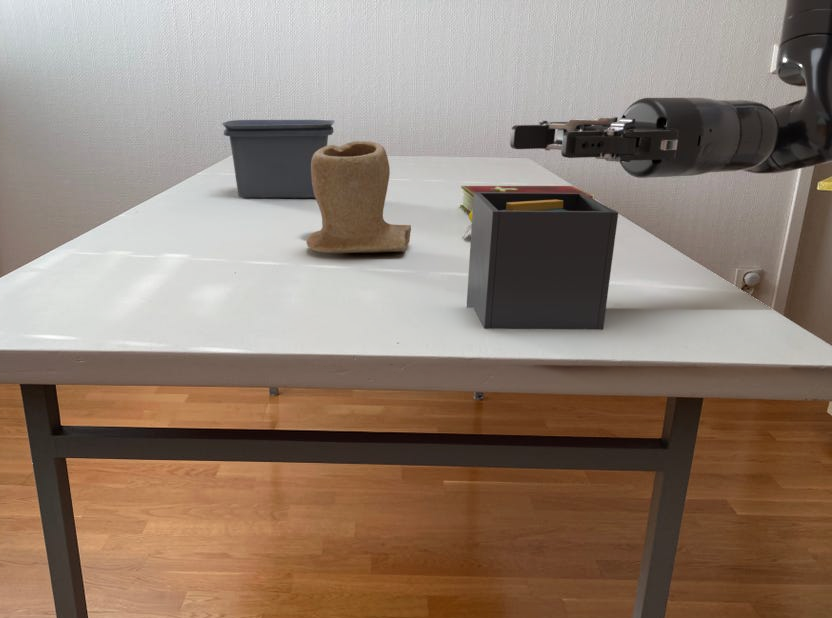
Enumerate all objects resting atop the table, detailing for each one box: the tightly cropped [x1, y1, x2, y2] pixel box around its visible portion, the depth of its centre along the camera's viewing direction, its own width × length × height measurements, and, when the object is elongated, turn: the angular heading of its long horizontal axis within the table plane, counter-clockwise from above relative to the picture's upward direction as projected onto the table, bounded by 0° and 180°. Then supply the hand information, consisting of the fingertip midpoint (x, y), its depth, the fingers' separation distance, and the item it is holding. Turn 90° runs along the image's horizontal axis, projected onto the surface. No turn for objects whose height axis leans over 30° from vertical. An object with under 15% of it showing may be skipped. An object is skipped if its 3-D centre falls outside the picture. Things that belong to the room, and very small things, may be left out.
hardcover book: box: [459, 185, 596, 216], centre depth 139 cm, size 12×21×4 cm, turn 94°
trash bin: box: [465, 192, 619, 331], centre depth 76 cm, size 11×11×13 cm
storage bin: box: [221, 119, 335, 199], centre depth 154 cm, size 21×16×14 cm
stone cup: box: [305, 140, 412, 254], centre depth 106 cm, size 15×12×15 cm
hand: (537, 140), depth 72 cm, fingers open, 8 cm apart
